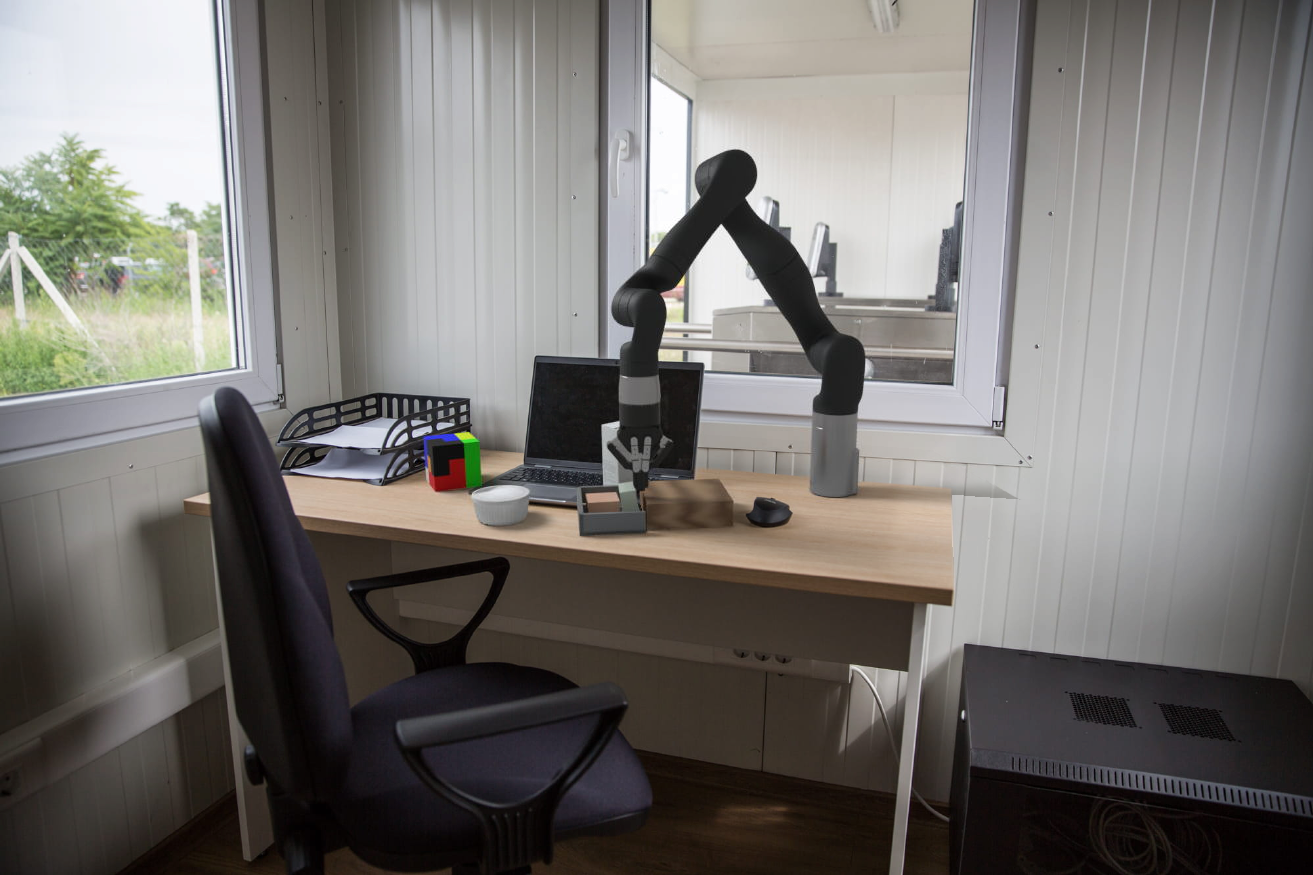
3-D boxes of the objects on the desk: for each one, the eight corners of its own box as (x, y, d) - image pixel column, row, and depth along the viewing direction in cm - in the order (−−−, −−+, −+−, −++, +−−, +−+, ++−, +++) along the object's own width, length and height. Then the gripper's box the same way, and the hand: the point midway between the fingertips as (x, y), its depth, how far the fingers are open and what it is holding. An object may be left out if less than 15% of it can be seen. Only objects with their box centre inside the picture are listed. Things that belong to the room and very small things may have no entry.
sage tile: (633, 481, 167) (618, 483, 167) (635, 490, 161) (619, 492, 161) (637, 510, 169) (622, 513, 168) (639, 520, 163) (624, 523, 163)
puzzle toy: (426, 480, 194) (423, 436, 192) (471, 475, 198) (468, 432, 196) (435, 492, 185) (432, 446, 183) (481, 486, 189) (479, 441, 187)
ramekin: (497, 506, 175) (495, 481, 174) (543, 514, 170) (542, 488, 169) (460, 523, 166) (458, 496, 164) (507, 531, 160) (506, 504, 159)
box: (636, 503, 176) (636, 484, 176) (645, 533, 159) (645, 512, 158) (577, 505, 175) (576, 486, 174) (579, 535, 158) (579, 514, 157)
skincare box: (632, 484, 190) (631, 417, 186) (650, 490, 185) (649, 422, 182) (601, 491, 185) (599, 422, 181) (618, 498, 180) (617, 427, 177)
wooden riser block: (718, 502, 177) (718, 478, 176) (733, 526, 162) (733, 500, 161) (639, 505, 175) (639, 481, 174) (647, 530, 161) (647, 504, 159)
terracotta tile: (585, 493, 171) (585, 508, 172) (588, 502, 165) (588, 517, 166) (616, 492, 172) (616, 506, 172) (619, 501, 166) (620, 516, 167)
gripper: (672, 394, 164) (673, 483, 168) (602, 396, 162) (604, 485, 166) (678, 401, 156) (678, 494, 160) (604, 404, 155) (606, 497, 159)
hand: (640, 489), depth 163 cm, fingers closed
